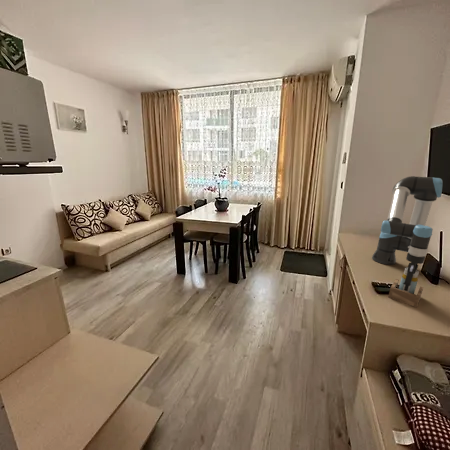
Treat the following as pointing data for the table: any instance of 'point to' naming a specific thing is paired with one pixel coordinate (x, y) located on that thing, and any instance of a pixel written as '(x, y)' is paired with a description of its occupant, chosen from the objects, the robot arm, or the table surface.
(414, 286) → the bottle
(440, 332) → the table surface
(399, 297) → the u rest
